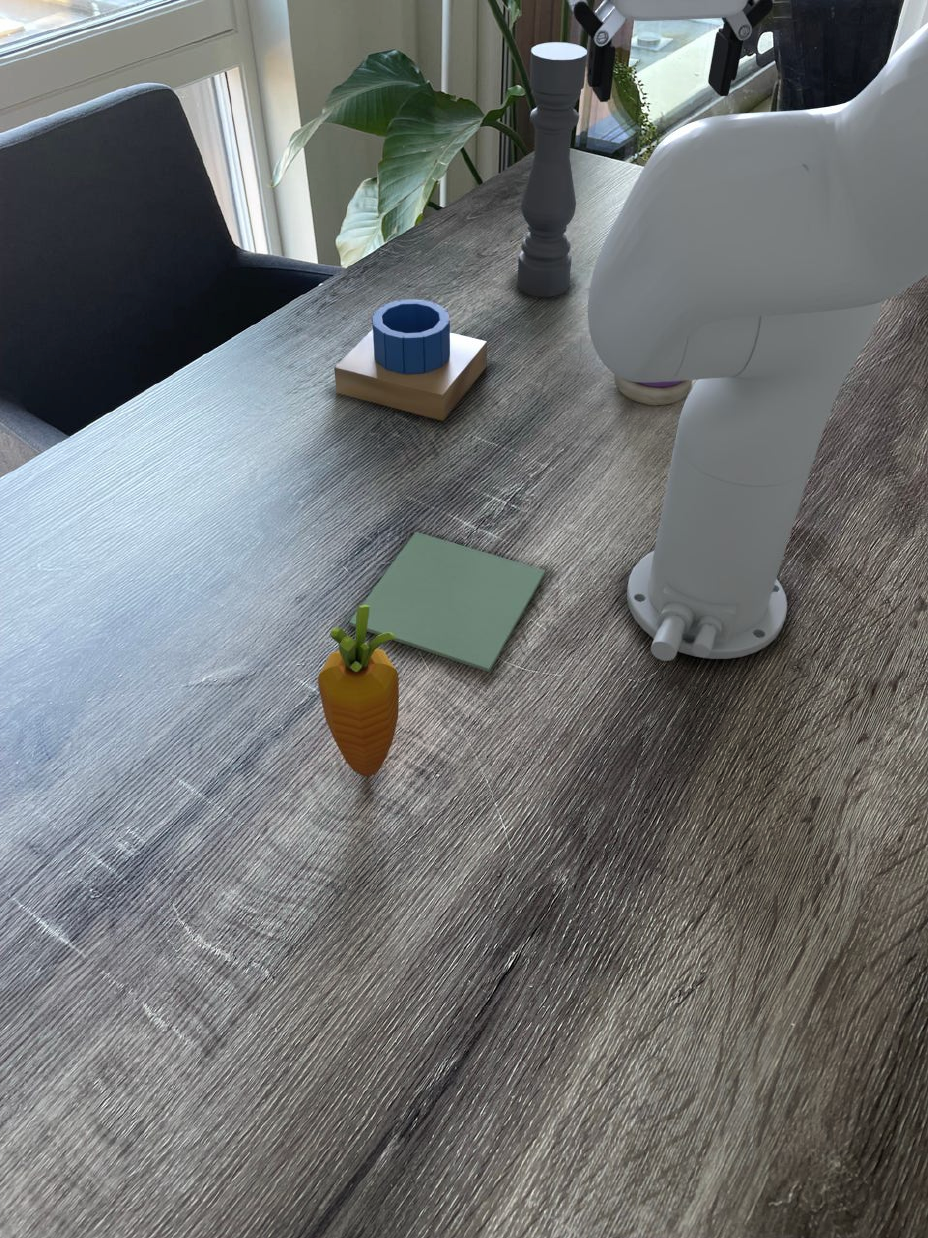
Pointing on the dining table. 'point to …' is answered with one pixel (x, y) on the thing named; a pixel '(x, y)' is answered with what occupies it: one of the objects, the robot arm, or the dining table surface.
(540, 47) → the candle holder
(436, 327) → the ring
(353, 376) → the platform
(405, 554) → the mat
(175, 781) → the dining table surface
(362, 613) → the carrot
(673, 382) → the stacking toy
